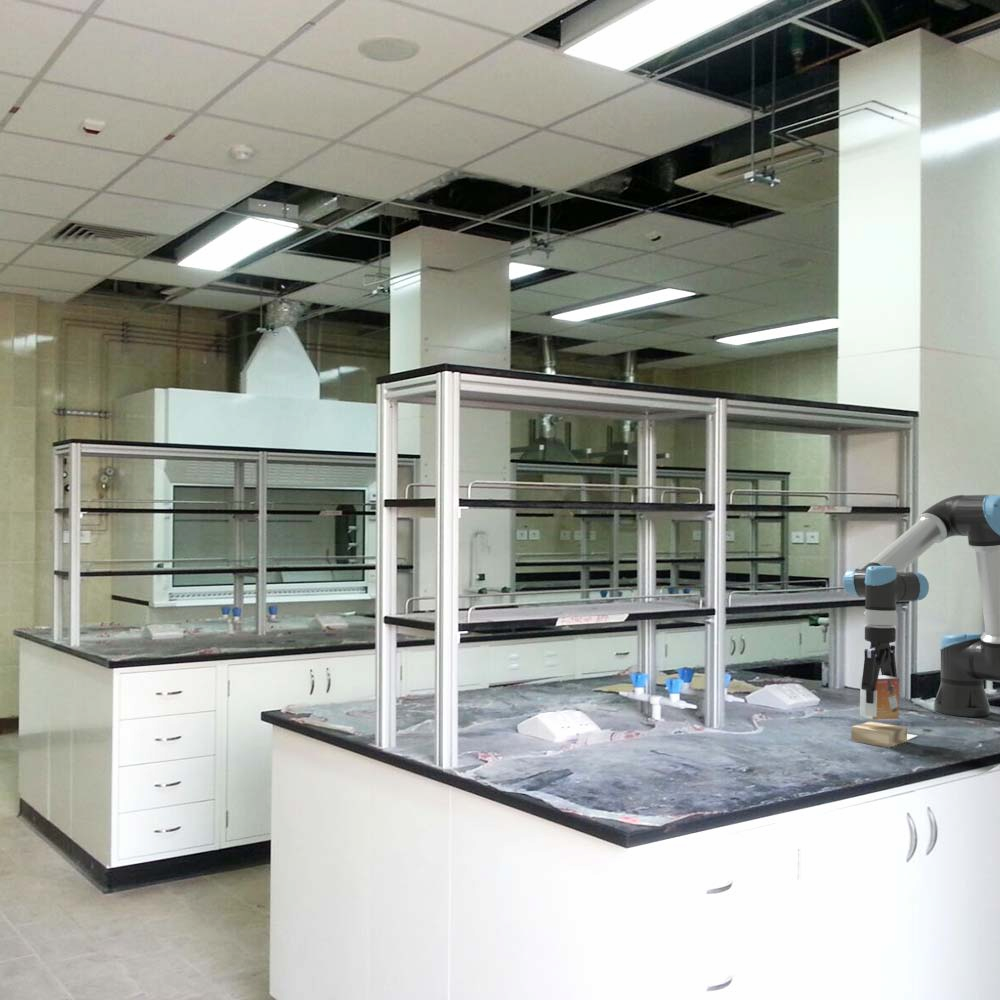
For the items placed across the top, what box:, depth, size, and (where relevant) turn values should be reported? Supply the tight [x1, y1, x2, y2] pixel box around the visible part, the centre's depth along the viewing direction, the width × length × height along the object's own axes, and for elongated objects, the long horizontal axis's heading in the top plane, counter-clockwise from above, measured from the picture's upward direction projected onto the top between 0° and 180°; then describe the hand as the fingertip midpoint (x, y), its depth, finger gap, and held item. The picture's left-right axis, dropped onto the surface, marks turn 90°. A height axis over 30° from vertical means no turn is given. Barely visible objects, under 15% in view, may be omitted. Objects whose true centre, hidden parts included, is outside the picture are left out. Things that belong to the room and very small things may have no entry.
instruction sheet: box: [907, 733, 919, 741], centre depth 276 cm, size 7×10×1 cm
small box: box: [859, 674, 900, 721], centre depth 269 cm, size 8×6×10 cm
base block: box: [850, 721, 908, 748], centre depth 269 cm, size 10×10×4 cm
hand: (879, 713), depth 269 cm, fingers closed on small box, 9 cm apart
